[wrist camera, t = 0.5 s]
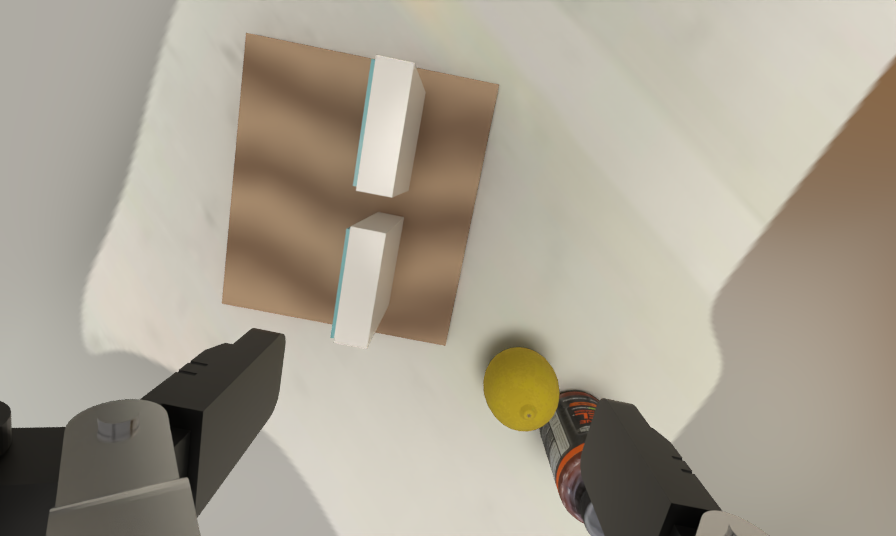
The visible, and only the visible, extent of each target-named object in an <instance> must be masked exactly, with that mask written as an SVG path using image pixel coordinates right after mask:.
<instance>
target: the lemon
mask: <svg viewBox="0 0 896 536" xmlns="http://www.w3.org/2000/svg"><path fill="white" fill-rule="evenodd" d="M483 383H484V395H485V398H486V401H487V404H488V406H489V408H490V410H491V411H492V413H493V414H494V416H495V417H496V418H497V419H498V420H499V421H500V422H501V423H502V424H503V425H505V426H507V427H509V428H511V429H514V430H518V431H532V430H536V429H538V428H540V427H542V426H544V425H545V424H546V423H548V422H549V421H550V419H551V418H552V417H553V416H554V414H555V411H556V409H557V407H558V402H559V385H558V379H557V377H556V374H555V372H554V370H553V368H552V366H551V365H550V364H549V363H548V361H547V360H546V359H545V358H544V357H543V356H541V355H540V354H539V353H537V352H535V351H533V350H531V349H528V348H522V347H515V348H509V349H506V350H504V351H502V352H500V353H499V354H497V355H496V356H495V357H494V358H493V359H492V360H491V362H490V363H489V365H488V367H487V369H486V372H485V376H484V381H483Z"/></svg>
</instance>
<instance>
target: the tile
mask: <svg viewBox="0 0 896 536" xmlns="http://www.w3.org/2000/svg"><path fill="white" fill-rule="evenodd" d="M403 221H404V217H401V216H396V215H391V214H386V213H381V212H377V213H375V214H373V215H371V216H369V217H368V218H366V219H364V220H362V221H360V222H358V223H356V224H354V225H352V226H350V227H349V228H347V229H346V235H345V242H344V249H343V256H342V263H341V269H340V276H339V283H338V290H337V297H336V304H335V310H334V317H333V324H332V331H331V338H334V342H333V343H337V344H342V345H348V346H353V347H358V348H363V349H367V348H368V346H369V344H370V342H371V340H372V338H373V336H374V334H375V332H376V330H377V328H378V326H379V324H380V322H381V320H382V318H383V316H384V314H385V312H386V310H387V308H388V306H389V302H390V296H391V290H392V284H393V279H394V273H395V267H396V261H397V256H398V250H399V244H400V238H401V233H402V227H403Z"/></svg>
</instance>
